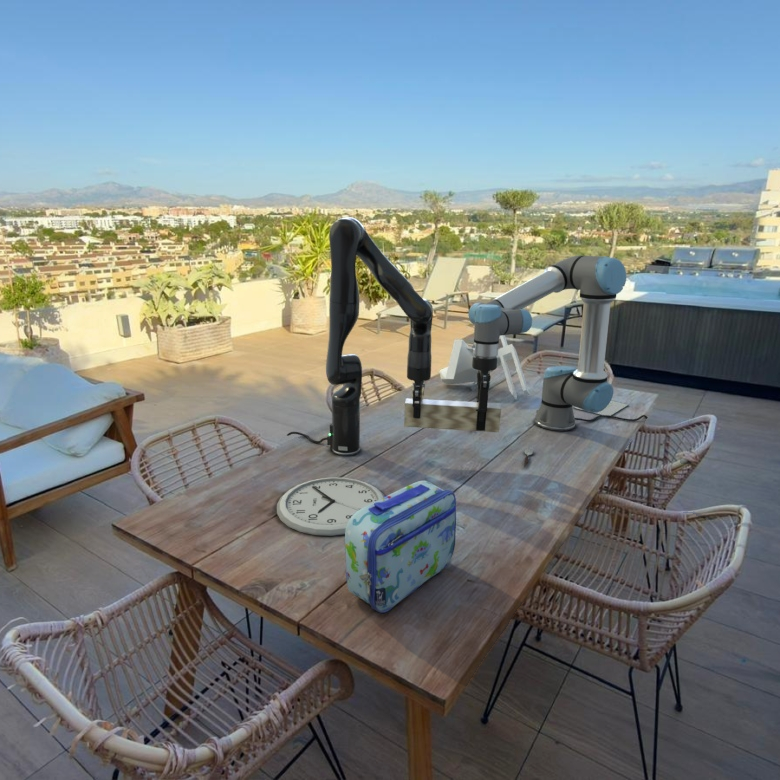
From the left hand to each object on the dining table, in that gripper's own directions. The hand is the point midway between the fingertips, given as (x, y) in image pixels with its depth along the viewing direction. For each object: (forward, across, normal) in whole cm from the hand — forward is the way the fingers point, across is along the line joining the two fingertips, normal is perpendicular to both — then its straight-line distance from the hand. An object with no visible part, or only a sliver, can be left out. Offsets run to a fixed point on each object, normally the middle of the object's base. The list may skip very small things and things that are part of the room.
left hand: (417, 414), depth 168 cm
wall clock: (+15, +34, -20) cm, 43 cm away
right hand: (+3, 0, +20) cm, 20 cm away
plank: (+3, 0, +11) cm, 12 cm away
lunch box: (+15, +64, +2) cm, 66 cm away
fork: (+15, -5, +37) cm, 40 cm away
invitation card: (+15, -65, +75) cm, 101 cm away
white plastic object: (+15, -77, +24) cm, 82 cm away
